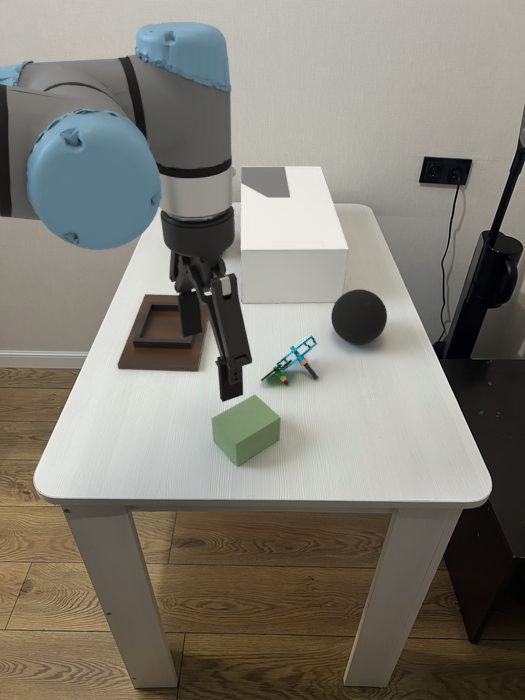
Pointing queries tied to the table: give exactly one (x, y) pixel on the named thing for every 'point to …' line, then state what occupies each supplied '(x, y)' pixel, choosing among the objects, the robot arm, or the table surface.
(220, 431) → the green rectangular block
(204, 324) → the back board
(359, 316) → the speaker
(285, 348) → the table surface
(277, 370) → the stick construction toy
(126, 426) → the table surface
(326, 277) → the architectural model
